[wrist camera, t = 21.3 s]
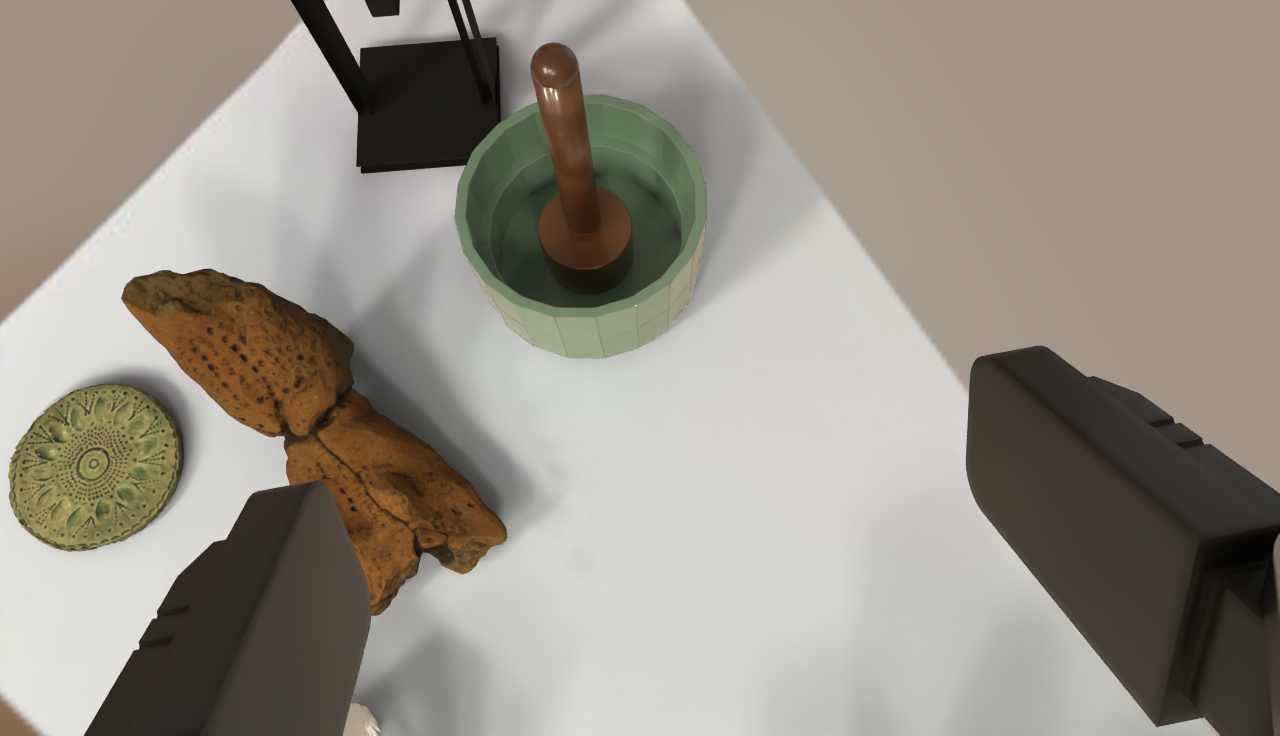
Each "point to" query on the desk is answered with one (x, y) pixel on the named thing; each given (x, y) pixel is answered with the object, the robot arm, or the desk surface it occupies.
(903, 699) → the desk surface
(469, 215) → the bowl
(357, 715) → the figurine
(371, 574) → the sculpture
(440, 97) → the handbag
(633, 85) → the desk surface
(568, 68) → the brown wooden pestle
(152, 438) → the medallion
